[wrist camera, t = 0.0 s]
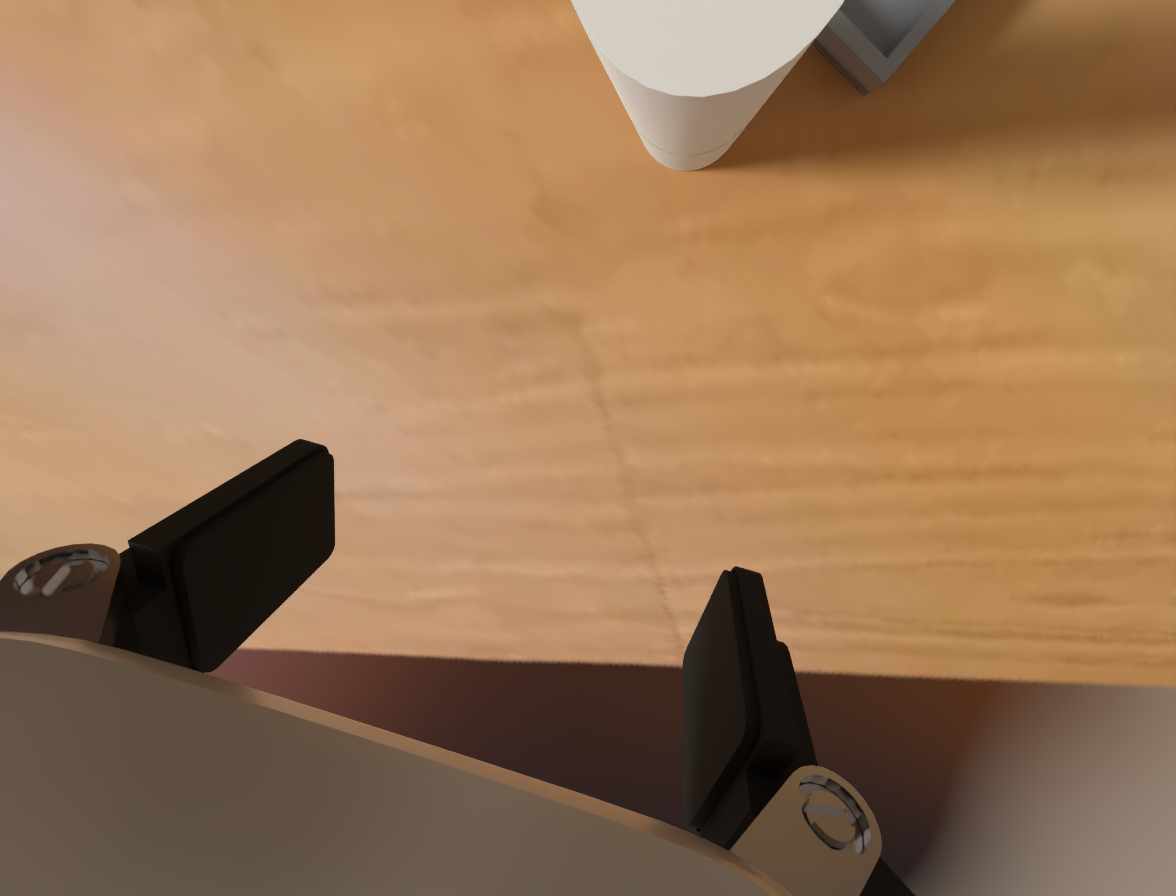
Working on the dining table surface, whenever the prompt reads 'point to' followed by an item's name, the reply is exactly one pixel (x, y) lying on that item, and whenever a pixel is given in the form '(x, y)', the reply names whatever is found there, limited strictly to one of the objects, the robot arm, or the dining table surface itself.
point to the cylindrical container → (698, 65)
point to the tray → (876, 37)
